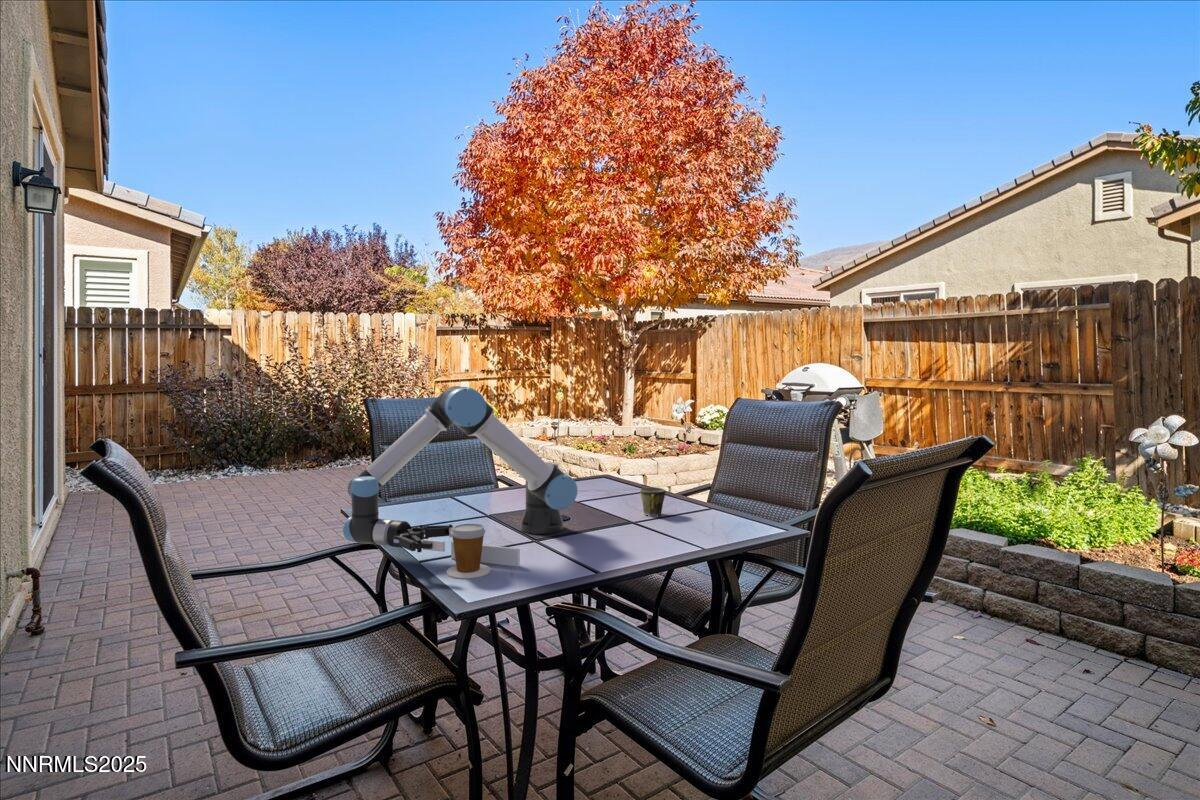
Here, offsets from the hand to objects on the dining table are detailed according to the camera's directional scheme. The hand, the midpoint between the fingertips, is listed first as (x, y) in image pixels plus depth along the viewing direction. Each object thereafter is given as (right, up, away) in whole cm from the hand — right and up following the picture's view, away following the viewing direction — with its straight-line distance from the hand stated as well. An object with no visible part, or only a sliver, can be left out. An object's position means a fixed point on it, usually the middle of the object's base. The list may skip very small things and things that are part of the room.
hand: (457, 540), depth 184 cm
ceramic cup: (+61, -6, +69) cm, 92 cm away
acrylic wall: (+6, -8, +9) cm, 14 cm away
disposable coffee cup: (+3, -8, 0) cm, 9 cm away
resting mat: (+3, -9, 0) cm, 9 cm away
